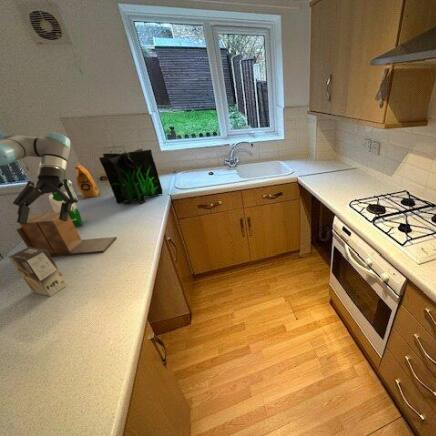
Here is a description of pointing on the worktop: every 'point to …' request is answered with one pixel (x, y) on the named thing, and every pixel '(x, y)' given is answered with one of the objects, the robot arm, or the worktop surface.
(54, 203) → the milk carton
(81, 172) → the coffee package
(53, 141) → the robot arm
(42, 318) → the worktop surface
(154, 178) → the decorative plant
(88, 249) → the rack
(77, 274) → the worktop surface
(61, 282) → the coffee box
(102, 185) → the worktop surface
